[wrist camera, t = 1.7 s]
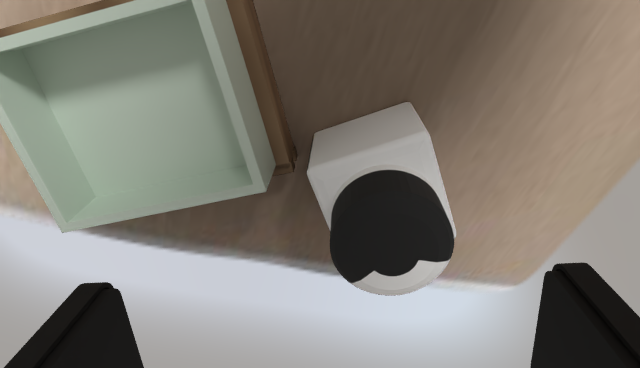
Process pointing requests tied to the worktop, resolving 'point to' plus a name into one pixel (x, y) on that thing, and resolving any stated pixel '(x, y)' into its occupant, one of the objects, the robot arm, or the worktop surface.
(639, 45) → the worktop surface
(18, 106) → the sage crate
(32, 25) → the brown wooden flat block
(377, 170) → the medicine bottle
